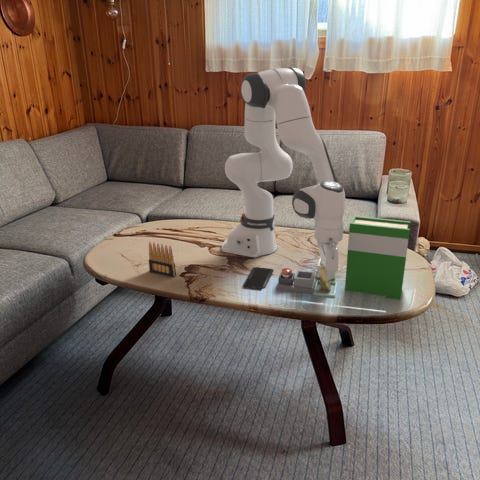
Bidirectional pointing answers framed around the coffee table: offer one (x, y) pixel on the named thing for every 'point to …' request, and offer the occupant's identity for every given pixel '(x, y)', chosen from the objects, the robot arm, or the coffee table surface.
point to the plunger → (286, 273)
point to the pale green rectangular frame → (324, 293)
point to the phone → (258, 278)
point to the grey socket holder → (298, 282)
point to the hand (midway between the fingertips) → (326, 271)
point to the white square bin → (320, 270)
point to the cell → (324, 281)
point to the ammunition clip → (161, 260)
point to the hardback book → (377, 256)
